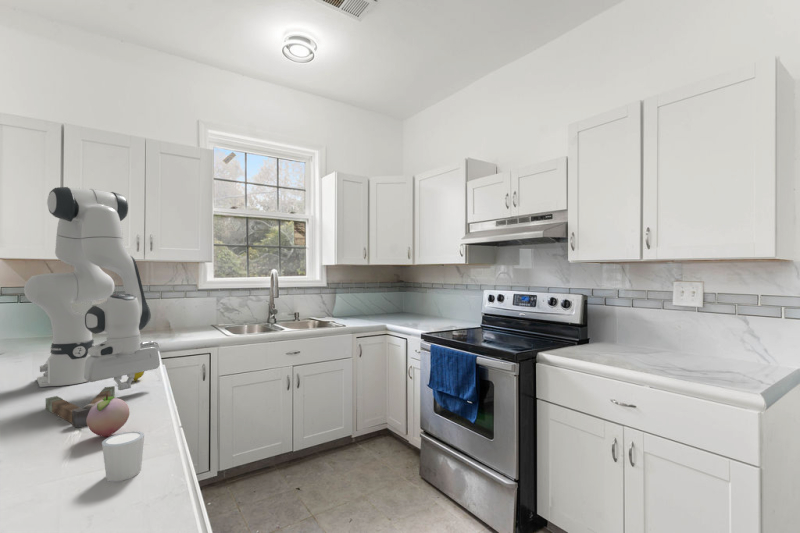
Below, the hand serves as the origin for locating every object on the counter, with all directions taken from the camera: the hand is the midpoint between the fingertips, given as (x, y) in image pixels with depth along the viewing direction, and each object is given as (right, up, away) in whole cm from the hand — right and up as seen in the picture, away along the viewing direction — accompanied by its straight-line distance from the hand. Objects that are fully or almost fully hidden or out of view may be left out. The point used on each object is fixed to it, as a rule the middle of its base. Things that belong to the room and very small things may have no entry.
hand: (124, 389), depth 128 cm
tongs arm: (+1, -2, -11) cm, 11 cm away
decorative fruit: (+18, -2, -31) cm, 36 cm away
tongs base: (-3, -2, -16) cm, 17 cm away
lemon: (-8, -2, +17) cm, 19 cm away
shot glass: (+33, -2, -49) cm, 59 cm away
